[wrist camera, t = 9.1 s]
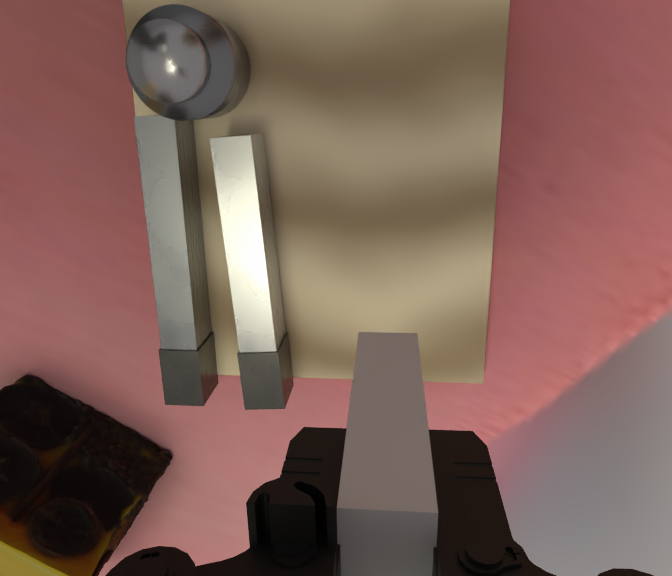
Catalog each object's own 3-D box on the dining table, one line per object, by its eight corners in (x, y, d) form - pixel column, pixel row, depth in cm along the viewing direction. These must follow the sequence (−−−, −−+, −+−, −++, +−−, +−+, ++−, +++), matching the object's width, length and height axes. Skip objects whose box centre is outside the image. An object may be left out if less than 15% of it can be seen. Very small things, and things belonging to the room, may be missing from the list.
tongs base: (143, 17, 26) (109, 6, 23) (247, 14, 25) (227, 2, 22) (182, 381, 31) (159, 411, 28) (268, 384, 31) (254, 415, 28)
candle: (177, 452, 34) (93, 585, 25) (110, 560, 37) (14, 715, 28) (26, 365, 34) (-120, 468, 24) (-29, 484, 37) (-177, 616, 27)
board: (132, -9, 27) (120, -14, 25) (506, -23, 25) (512, -29, 24) (174, 363, 32) (166, 372, 31) (479, 373, 31) (483, 383, 29)
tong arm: (164, 35, 26) (120, 22, 21) (253, 26, 25) (225, 11, 21) (218, 386, 31) (191, 429, 27) (293, 384, 30) (277, 428, 26)
